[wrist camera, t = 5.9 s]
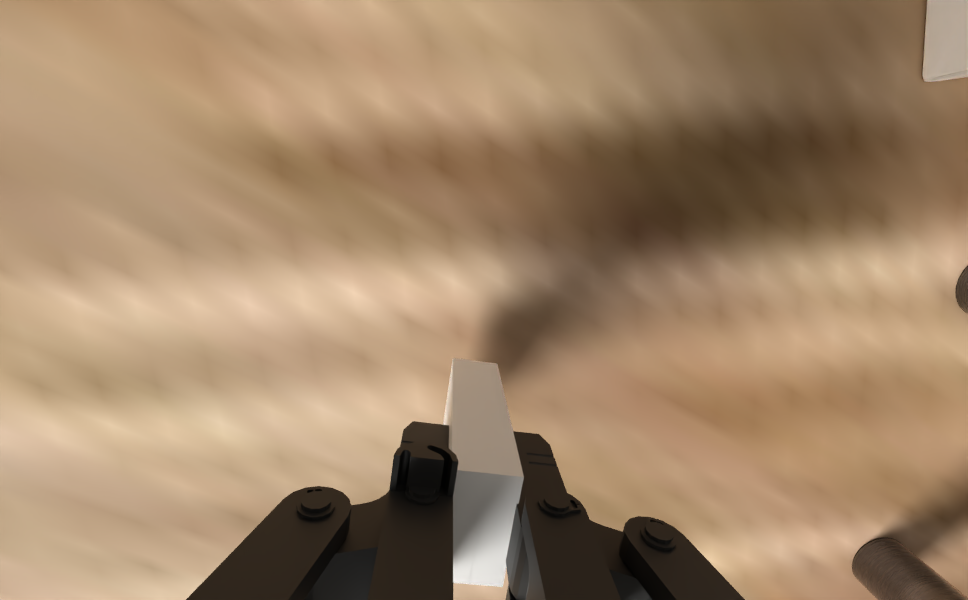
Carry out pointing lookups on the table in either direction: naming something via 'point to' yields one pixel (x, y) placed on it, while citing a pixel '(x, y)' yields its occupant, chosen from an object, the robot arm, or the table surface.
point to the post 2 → (963, 291)
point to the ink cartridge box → (946, 40)
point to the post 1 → (899, 574)
